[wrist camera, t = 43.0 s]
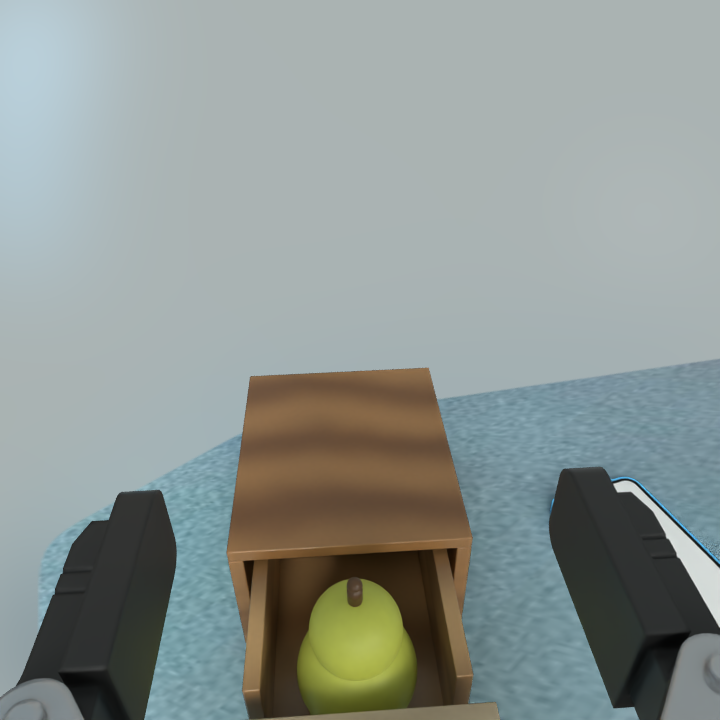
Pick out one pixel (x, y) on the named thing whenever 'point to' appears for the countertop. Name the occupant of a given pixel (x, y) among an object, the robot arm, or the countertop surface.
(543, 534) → the countertop surface
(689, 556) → the smartphone
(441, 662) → the drawer
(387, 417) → the cabinet
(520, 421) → the countertop surface
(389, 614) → the pear
